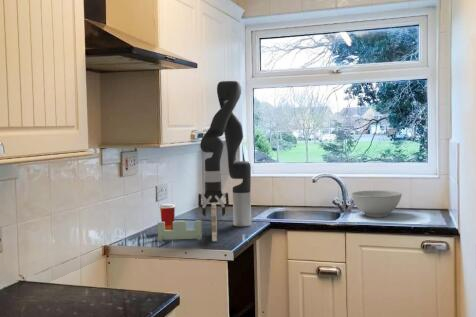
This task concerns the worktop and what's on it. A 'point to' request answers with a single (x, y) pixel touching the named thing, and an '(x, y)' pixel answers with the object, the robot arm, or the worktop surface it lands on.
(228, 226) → the worktop surface
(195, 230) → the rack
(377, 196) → the decorative bowl
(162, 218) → the paper cup
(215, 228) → the beige flat panel
